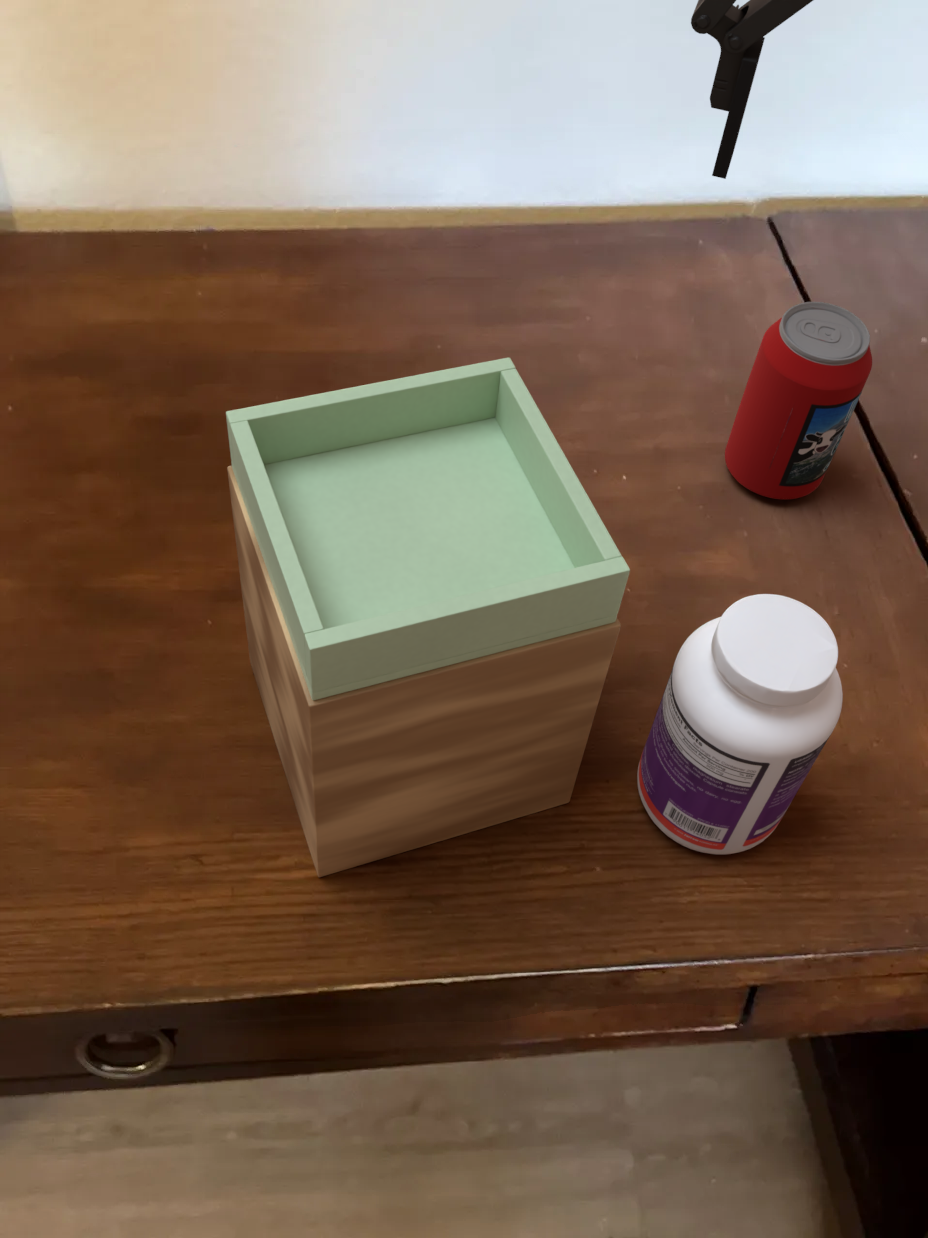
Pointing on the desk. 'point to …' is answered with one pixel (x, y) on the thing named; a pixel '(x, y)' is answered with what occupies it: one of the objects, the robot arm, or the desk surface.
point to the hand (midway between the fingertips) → (845, 193)
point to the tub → (420, 524)
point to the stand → (420, 732)
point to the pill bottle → (740, 724)
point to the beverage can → (798, 400)
